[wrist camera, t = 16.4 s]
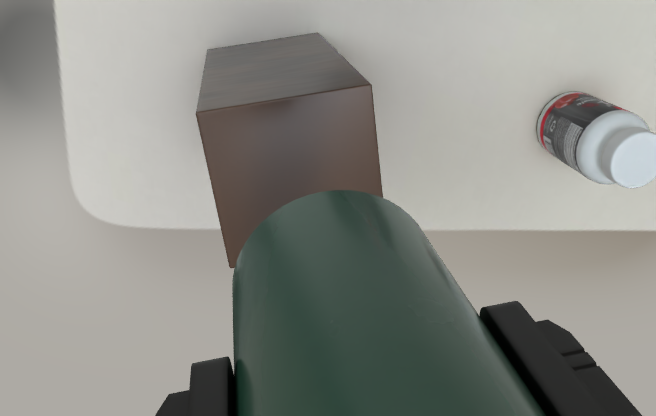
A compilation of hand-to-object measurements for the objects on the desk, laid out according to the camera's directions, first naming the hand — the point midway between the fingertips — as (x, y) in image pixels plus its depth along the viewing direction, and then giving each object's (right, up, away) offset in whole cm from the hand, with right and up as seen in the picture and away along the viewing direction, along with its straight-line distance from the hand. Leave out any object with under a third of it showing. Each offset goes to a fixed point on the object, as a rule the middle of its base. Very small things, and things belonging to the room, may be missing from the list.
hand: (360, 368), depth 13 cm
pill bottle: (+18, +10, +38) cm, 43 cm away
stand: (-5, +12, +33) cm, 35 cm away
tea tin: (-1, +1, +3) cm, 3 cm away
